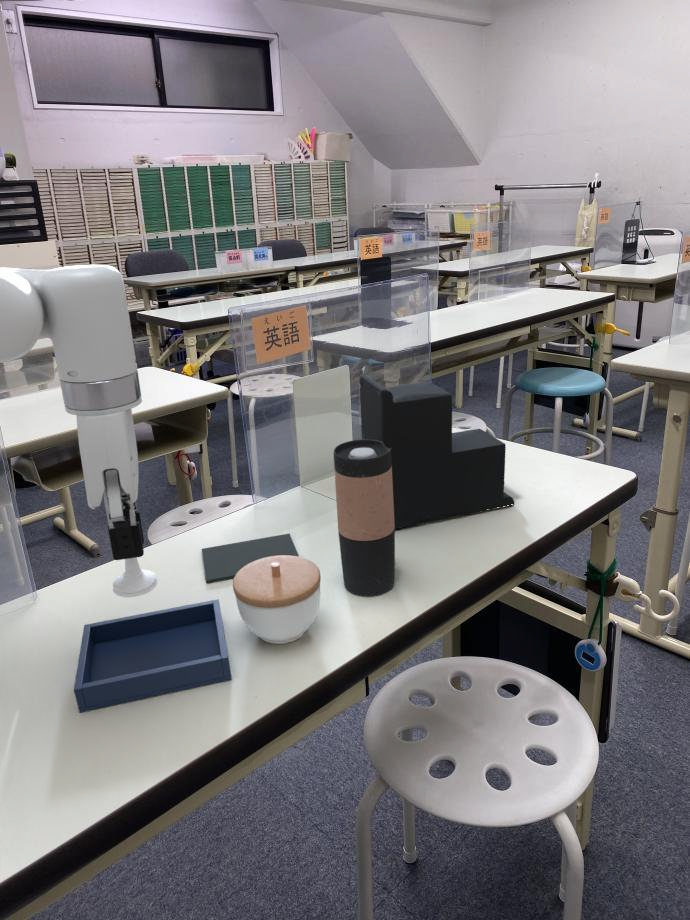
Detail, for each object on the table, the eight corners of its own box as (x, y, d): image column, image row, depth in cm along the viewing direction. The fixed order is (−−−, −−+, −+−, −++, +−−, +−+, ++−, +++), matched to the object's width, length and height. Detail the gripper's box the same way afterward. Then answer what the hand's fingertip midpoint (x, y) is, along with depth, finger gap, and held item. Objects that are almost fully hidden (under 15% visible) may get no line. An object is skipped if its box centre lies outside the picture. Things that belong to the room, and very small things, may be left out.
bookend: (484, 483, 124) (486, 356, 116) (515, 506, 115) (520, 370, 106) (363, 507, 118) (355, 374, 110) (385, 533, 109) (379, 391, 100)
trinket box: (291, 596, 94) (285, 535, 90) (342, 629, 86) (337, 563, 82) (223, 629, 87) (214, 565, 84) (271, 668, 80) (263, 599, 76)
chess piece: (145, 570, 81) (132, 492, 78) (165, 585, 78) (153, 505, 74) (105, 586, 78) (90, 506, 74) (124, 602, 75) (110, 519, 71)
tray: (79, 713, 74) (73, 690, 73) (89, 645, 86) (84, 624, 85) (231, 679, 78) (228, 657, 77) (221, 619, 89) (218, 598, 88)
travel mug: (333, 593, 94) (323, 457, 86) (353, 565, 100) (345, 437, 93) (386, 601, 91) (380, 462, 84) (403, 572, 97) (399, 441, 90)
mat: (206, 583, 98) (206, 580, 98) (201, 551, 107) (201, 548, 107) (302, 565, 101) (301, 562, 101) (289, 536, 110) (289, 533, 110)
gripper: (71, 377, 76) (99, 526, 83) (52, 417, 62) (88, 594, 68) (141, 370, 78) (163, 517, 84) (138, 408, 63) (165, 581, 70)
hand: (129, 550), depth 76 cm, fingers closed on chess piece
